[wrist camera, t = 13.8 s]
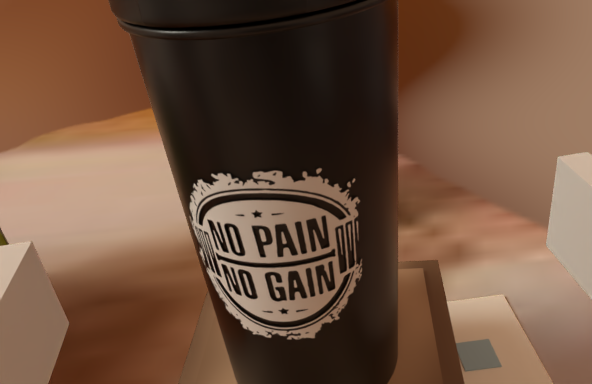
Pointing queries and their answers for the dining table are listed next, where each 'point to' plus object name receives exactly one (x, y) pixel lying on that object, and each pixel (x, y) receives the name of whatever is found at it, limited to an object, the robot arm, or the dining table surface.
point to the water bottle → (284, 174)
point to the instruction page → (493, 343)
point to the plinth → (411, 335)
